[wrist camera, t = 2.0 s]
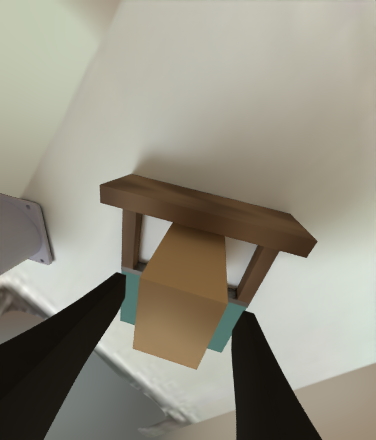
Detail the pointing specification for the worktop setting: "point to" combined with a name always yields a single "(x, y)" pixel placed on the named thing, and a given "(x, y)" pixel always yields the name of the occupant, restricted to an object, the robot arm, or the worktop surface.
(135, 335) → the block
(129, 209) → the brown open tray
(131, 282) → the mat
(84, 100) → the worktop surface
